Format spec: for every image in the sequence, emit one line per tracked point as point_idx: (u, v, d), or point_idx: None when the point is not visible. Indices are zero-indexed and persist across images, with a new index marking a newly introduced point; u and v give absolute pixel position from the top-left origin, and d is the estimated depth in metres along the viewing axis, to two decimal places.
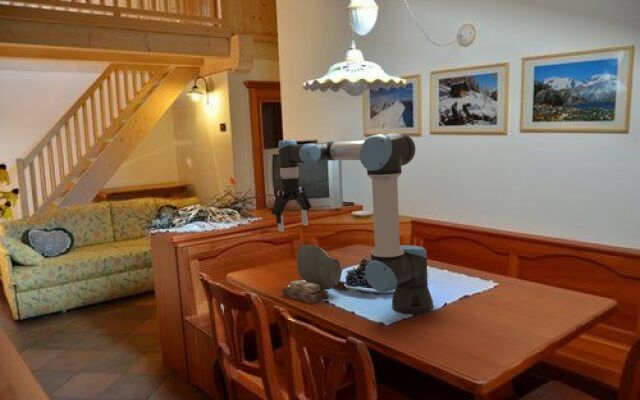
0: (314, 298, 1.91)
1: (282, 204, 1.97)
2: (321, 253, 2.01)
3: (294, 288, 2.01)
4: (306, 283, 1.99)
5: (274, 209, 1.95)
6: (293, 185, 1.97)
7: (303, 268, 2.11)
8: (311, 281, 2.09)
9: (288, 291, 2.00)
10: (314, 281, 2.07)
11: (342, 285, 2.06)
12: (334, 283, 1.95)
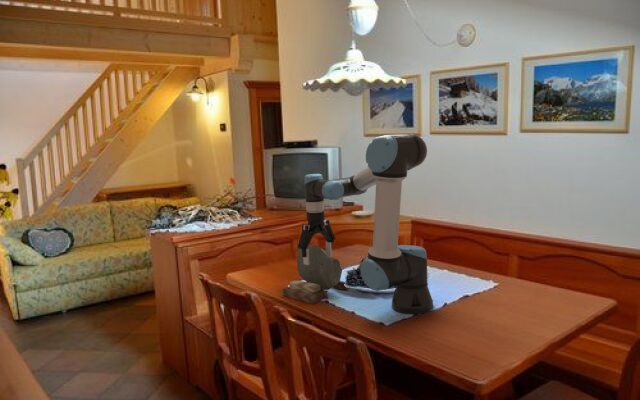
0: (314, 298, 1.91)
1: (308, 238, 1.99)
2: (321, 253, 2.01)
3: (294, 288, 2.01)
4: (306, 283, 1.99)
5: (300, 243, 1.97)
6: (319, 219, 1.99)
7: (303, 268, 2.11)
8: (311, 281, 2.09)
9: (288, 291, 2.00)
10: (314, 281, 2.07)
11: (342, 285, 2.06)
12: (334, 283, 1.95)
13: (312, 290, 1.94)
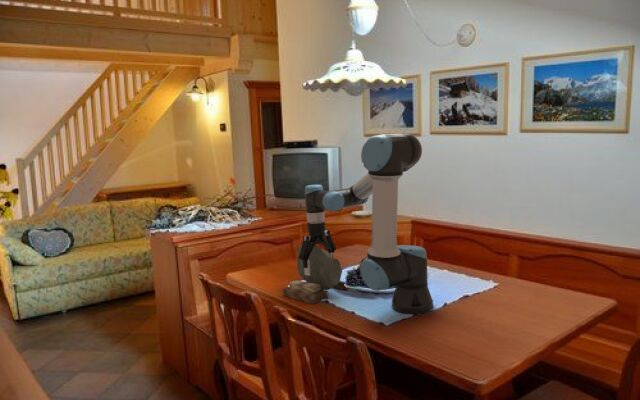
0: (314, 298, 1.91)
1: (309, 249, 1.99)
2: (321, 253, 2.01)
3: (294, 288, 2.01)
4: (306, 283, 1.99)
5: (301, 254, 1.97)
6: (320, 230, 1.99)
7: (303, 268, 2.11)
8: (311, 281, 2.09)
9: (288, 291, 2.00)
10: (314, 281, 2.07)
11: (342, 285, 2.06)
12: (334, 283, 1.95)
13: (312, 290, 1.94)
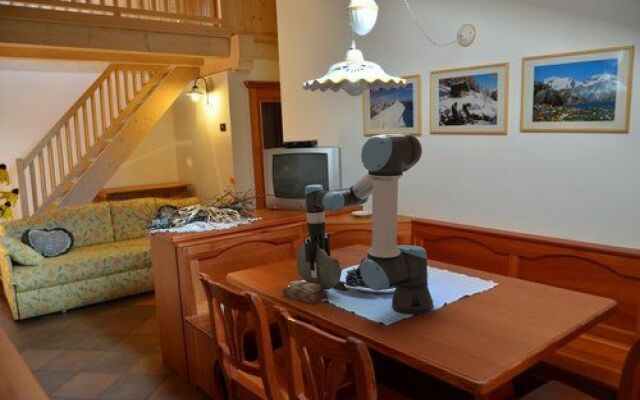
0: (314, 298, 1.91)
1: (312, 251, 2.01)
2: (320, 253, 2.00)
3: (294, 288, 2.01)
4: (306, 283, 1.99)
5: (307, 257, 2.00)
6: (320, 230, 1.99)
7: (303, 268, 2.11)
8: (311, 281, 2.09)
9: (288, 291, 2.00)
10: (314, 281, 2.07)
11: (342, 285, 2.06)
12: (334, 283, 1.95)
13: (312, 290, 1.94)
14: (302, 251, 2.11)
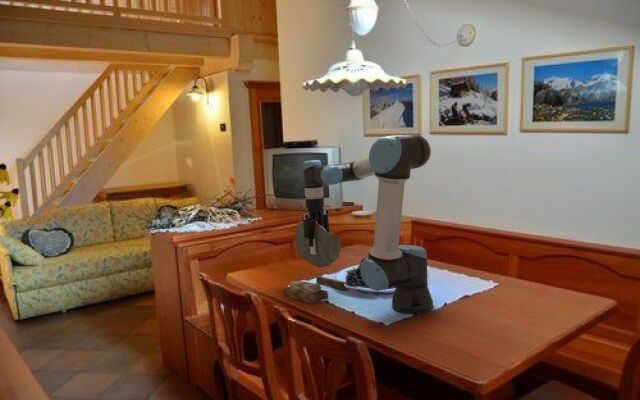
0: (314, 298, 1.91)
1: (311, 227, 2.00)
2: (319, 229, 1.99)
3: (294, 288, 2.01)
4: (306, 283, 1.99)
5: (306, 233, 1.98)
6: (318, 205, 1.98)
7: (301, 246, 2.09)
8: (310, 258, 2.07)
9: (288, 291, 2.00)
10: (313, 258, 2.05)
11: (342, 285, 2.06)
12: (333, 258, 1.94)
13: (312, 290, 1.94)
14: (301, 228, 2.09)
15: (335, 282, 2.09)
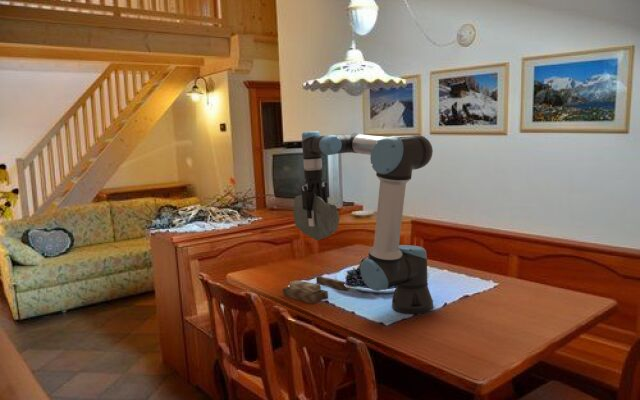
0: (314, 298, 1.91)
1: (310, 198, 1.98)
2: (317, 200, 1.98)
3: (294, 288, 2.01)
4: (306, 283, 1.99)
5: (304, 205, 1.97)
6: (317, 177, 1.96)
7: (299, 219, 2.08)
8: (308, 231, 2.06)
9: (288, 291, 2.00)
10: (311, 231, 2.04)
11: (342, 285, 2.06)
12: (332, 230, 1.93)
13: (312, 290, 1.94)
14: (299, 201, 2.08)
15: (335, 282, 2.09)
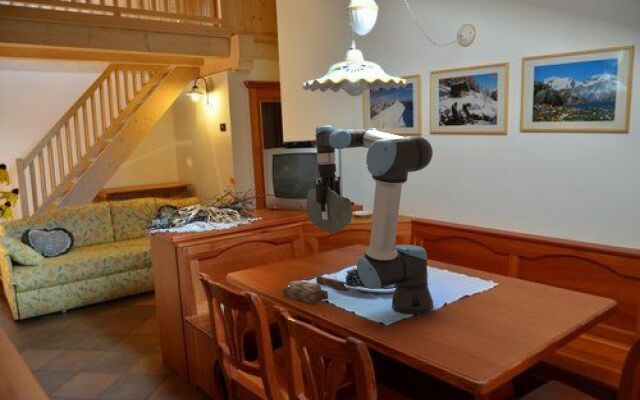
0: (314, 298, 1.91)
1: (323, 192, 2.01)
2: (331, 194, 2.00)
3: (294, 288, 2.01)
4: (306, 283, 1.99)
5: (318, 198, 2.00)
6: (330, 170, 1.99)
7: (313, 212, 2.11)
8: (321, 224, 2.09)
9: (288, 291, 2.00)
10: (324, 224, 2.07)
11: (342, 285, 2.06)
12: (345, 222, 1.95)
13: (312, 290, 1.94)
14: (312, 195, 2.10)
15: (335, 282, 2.09)
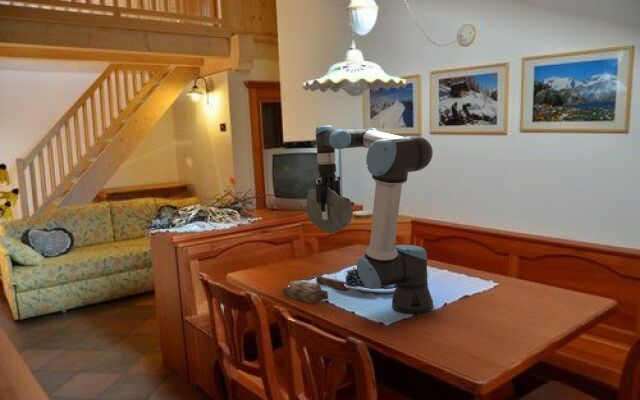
0: (314, 298, 1.91)
1: (323, 192, 2.01)
2: (331, 194, 2.00)
3: (294, 288, 2.01)
4: (306, 283, 1.99)
5: (318, 198, 2.00)
6: (330, 170, 1.99)
7: (313, 212, 2.11)
8: (321, 224, 2.09)
9: (288, 291, 2.00)
10: (324, 224, 2.07)
11: (342, 285, 2.06)
12: (345, 222, 1.95)
13: (312, 290, 1.94)
14: (312, 195, 2.10)
15: (335, 282, 2.09)
